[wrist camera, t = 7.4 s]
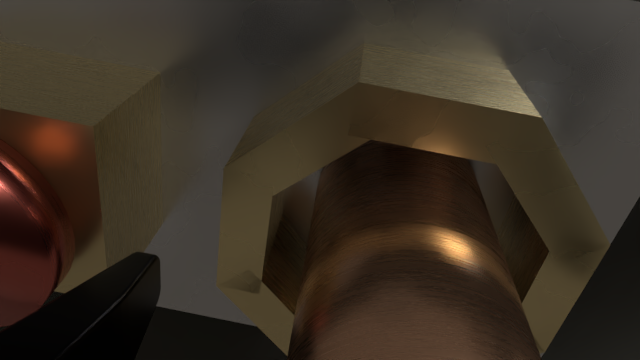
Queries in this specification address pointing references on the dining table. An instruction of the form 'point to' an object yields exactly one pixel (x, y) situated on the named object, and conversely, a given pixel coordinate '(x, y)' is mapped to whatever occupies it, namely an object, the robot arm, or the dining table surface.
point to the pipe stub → (405, 265)
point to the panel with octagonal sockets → (303, 137)
